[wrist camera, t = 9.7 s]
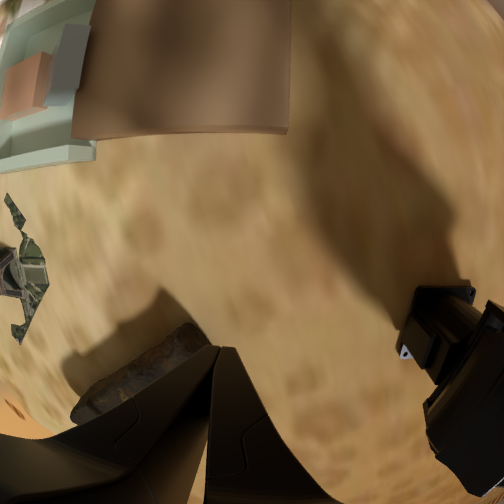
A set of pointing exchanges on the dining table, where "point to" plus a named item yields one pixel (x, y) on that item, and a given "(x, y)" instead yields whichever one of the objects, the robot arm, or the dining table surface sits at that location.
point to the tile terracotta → (25, 87)
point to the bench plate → (184, 68)
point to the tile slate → (66, 65)
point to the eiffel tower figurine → (23, 273)
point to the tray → (55, 117)
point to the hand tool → (139, 373)
